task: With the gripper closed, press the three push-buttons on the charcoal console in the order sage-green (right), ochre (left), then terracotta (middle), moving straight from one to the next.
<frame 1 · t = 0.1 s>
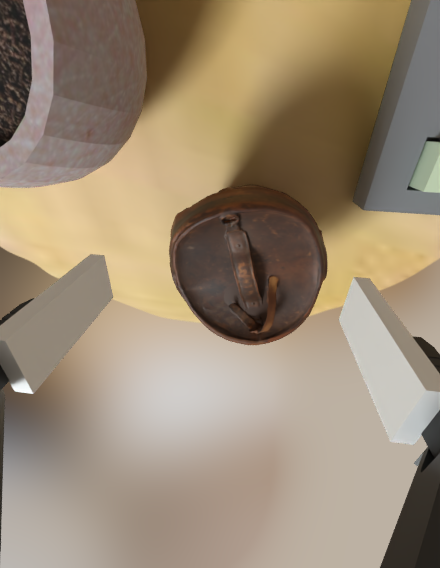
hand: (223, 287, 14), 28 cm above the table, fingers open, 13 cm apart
plant pot: (81, 64, 33), on the table
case: (250, 230, 42), on the table
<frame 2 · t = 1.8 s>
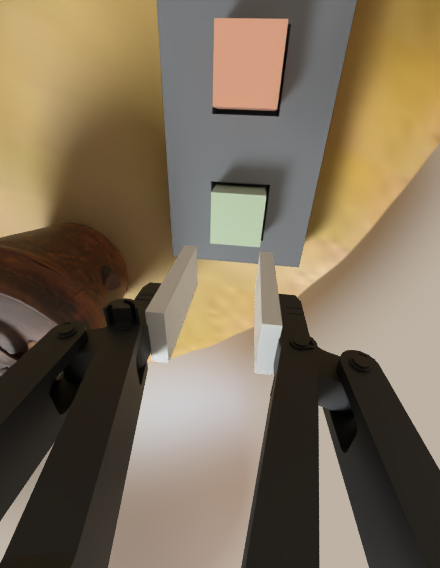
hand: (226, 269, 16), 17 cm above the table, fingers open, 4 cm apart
terracotta button: (248, 70, 20), point 5 cm above the table, slide at 0.0 cm
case: (88, 269, 38), on the table
sage button: (237, 215, 25), point 5 cm above the table, slide at 0.0 cm
console: (249, 80, 24), on the table
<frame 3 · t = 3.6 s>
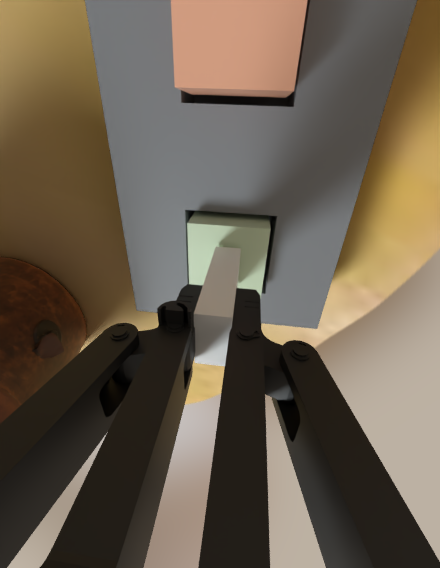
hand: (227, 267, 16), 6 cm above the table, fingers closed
terracotta button: (239, 20, 11), point 5 cm above the table, slide at 0.0 cm
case: (36, 311, 29), on the table
sage button: (228, 251, 18), point 4 cm above the table, slide at 1.5 cm, touching gripper
console: (244, 51, 15), on the table
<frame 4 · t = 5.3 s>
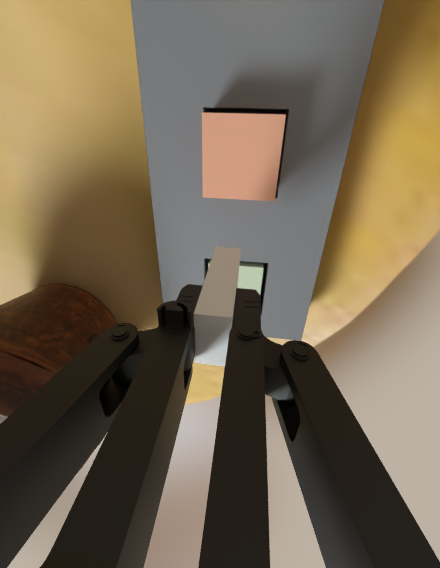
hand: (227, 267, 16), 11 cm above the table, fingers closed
terracotta button: (241, 157, 18), point 5 cm above the table, slide at 0.0 cm
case: (79, 325, 36), on the table
sage button: (235, 279, 26), point 3 cm above the table, slide at 2.5 cm
console: (245, 150, 22), on the table
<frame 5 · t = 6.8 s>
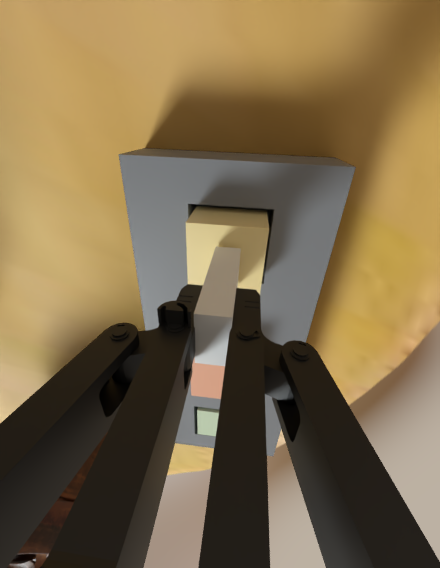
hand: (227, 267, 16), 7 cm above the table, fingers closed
terracotta button: (221, 364, 23), point 5 cm above the table, slide at 0.0 cm
ochre button: (227, 251, 18), point 5 cm above the table, slide at 0.2 cm, touching gripper
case: (87, 417, 41), on the table
sage button: (219, 411, 31), point 3 cm above the table, slide at 2.5 cm
console: (226, 324, 28), on the table
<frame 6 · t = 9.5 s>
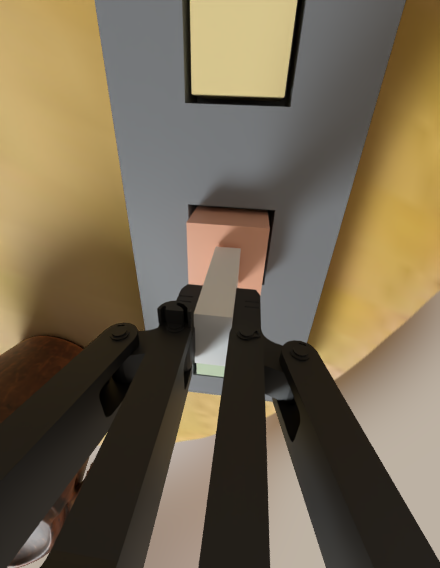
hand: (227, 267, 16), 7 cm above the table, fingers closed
terracotta button: (228, 251, 18), point 5 cm above the table, slide at 0.4 cm, touching gripper
ochre button: (242, 42, 14), point 3 cm above the table, slide at 2.5 cm
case: (68, 370, 36), on the table
sage button: (224, 345, 25), point 3 cm above the table, slide at 2.5 cm
console: (233, 225, 22), on the table
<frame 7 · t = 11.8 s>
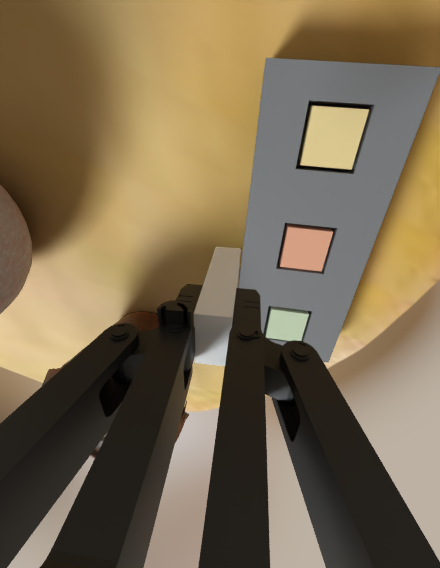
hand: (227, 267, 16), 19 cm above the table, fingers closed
terracotta button: (303, 244, 31), point 3 cm above the table, slide at 2.5 cm
ochre button: (328, 138, 26), point 3 cm above the table, slide at 2.5 cm
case: (152, 341, 46), on the table
sage button: (285, 318, 37), point 3 cm above the table, slide at 2.5 cm
console: (299, 236, 34), on the table
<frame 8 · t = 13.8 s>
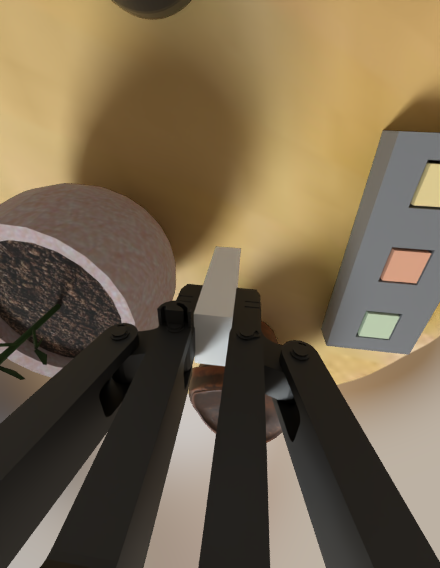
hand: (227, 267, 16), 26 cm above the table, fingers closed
terracotta button: (400, 261, 39), point 3 cm above the table, slide at 2.5 cm
ochre button: (434, 183, 33), point 3 cm above the table, slide at 2.5 cm
plant pot: (124, 242, 46), on the table
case: (245, 341, 55), on the table
sage button: (374, 319, 45), point 3 cm above the table, slide at 2.5 cm
console: (391, 253, 41), on the table
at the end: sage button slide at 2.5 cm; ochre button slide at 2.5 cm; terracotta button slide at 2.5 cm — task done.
